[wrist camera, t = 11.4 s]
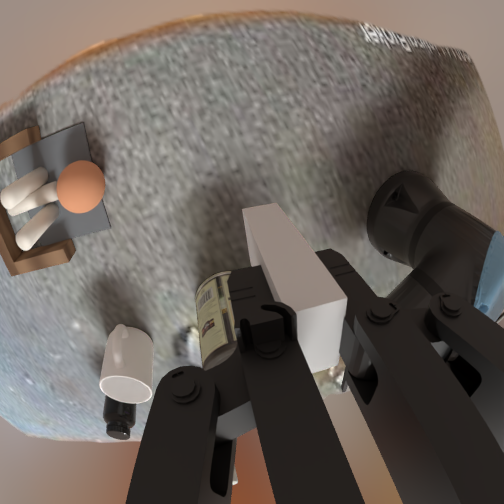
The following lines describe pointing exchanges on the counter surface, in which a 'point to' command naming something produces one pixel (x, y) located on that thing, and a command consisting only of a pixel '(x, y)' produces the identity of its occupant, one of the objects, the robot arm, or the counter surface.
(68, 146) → the pin deck mark
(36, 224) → the pin
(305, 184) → the counter surface
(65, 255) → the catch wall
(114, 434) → the supplement bottle
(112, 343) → the mug
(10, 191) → the pin
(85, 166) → the ball
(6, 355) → the counter surface
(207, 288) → the coffee can
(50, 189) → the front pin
